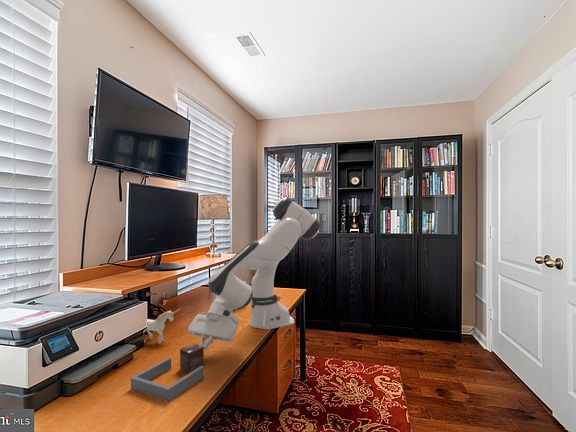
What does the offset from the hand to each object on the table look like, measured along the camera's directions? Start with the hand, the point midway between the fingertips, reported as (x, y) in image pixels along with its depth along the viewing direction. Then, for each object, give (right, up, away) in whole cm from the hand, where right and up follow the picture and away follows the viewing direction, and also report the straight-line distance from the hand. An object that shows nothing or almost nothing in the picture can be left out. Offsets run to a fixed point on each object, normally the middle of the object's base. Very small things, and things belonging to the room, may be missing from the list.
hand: (202, 348), depth 115 cm
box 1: (-7, -5, -14) cm, 16 cm away
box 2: (-2, -5, -5) cm, 7 cm away
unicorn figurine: (-25, -6, +23) cm, 34 cm away
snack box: (-2, -5, +64) cm, 65 cm away
